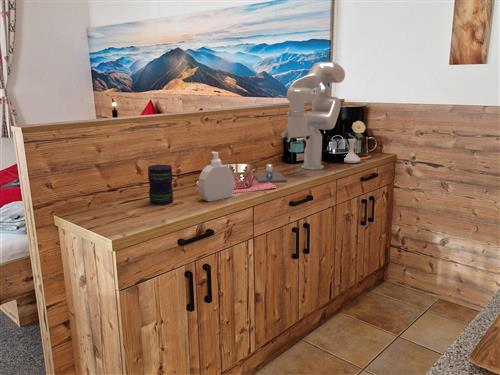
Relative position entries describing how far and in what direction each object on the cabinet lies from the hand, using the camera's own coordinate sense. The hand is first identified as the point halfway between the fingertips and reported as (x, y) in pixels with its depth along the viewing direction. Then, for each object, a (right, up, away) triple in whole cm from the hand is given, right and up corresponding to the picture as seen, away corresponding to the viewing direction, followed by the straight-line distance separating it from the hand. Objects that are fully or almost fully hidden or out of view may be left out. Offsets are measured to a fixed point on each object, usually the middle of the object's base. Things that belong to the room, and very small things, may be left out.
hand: (296, 148), depth 238 cm
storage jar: (-61, -26, -45) cm, 80 cm away
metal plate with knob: (-14, -15, -1) cm, 20 cm away
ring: (0, -1, 0) cm, 1 cm away
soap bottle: (-38, -25, -39) cm, 60 cm away
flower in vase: (+37, -5, +40) cm, 55 cm away
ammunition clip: (-36, -22, -27) cm, 50 cm away
